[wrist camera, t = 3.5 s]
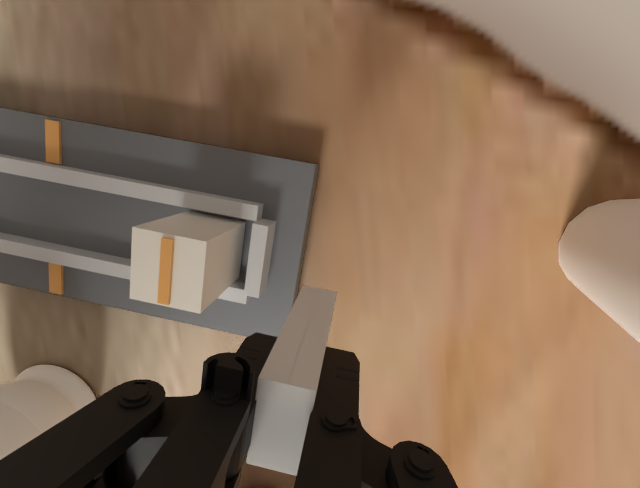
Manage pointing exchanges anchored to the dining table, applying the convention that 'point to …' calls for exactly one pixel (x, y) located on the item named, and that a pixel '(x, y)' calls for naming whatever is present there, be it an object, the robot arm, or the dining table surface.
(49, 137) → the marker
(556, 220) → the dining table surface
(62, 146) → the slider track
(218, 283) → the block
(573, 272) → the foam cup
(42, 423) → the jar
